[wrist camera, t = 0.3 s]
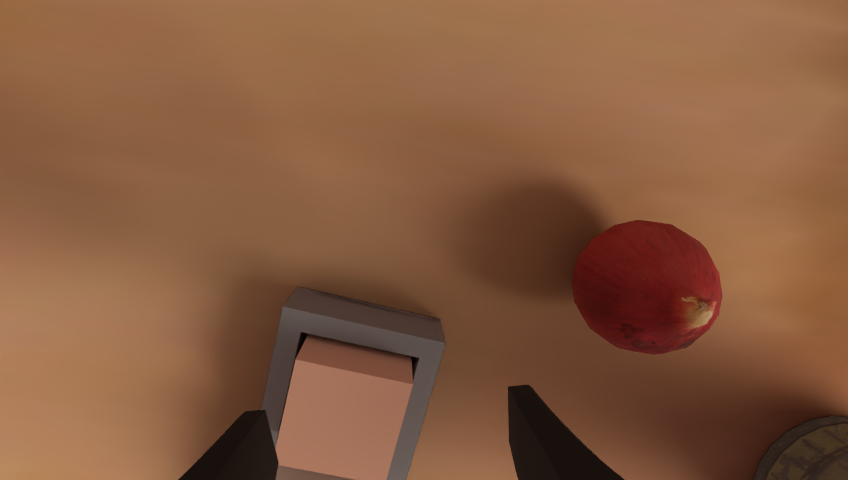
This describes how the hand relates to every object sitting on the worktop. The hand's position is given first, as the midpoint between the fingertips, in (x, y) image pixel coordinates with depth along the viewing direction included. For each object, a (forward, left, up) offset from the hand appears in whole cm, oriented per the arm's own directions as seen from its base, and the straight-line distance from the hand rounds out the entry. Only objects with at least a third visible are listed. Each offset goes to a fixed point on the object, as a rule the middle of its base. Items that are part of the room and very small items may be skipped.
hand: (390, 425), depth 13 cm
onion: (+9, -6, -11) cm, 15 cm away
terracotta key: (-4, -1, -8) cm, 9 cm away
